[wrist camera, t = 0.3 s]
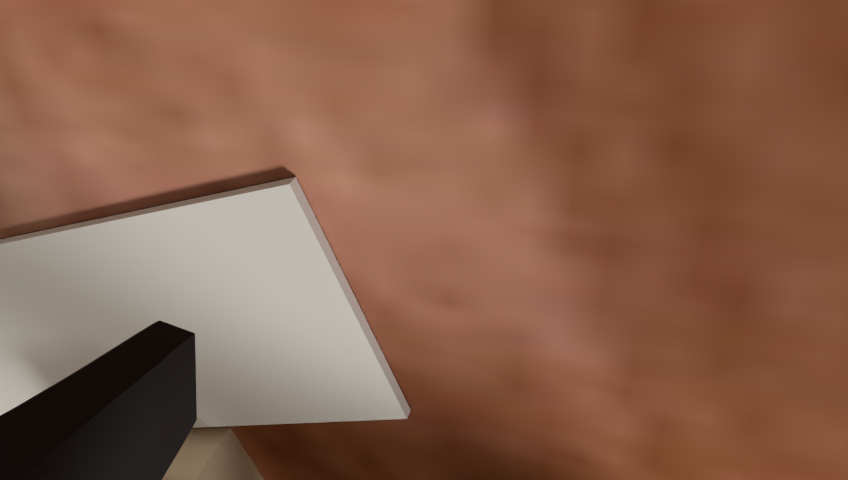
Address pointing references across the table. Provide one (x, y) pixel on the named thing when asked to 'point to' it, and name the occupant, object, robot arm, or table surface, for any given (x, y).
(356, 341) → the mat
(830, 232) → the table surface
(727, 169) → the table surface
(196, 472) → the tan and green sponge
